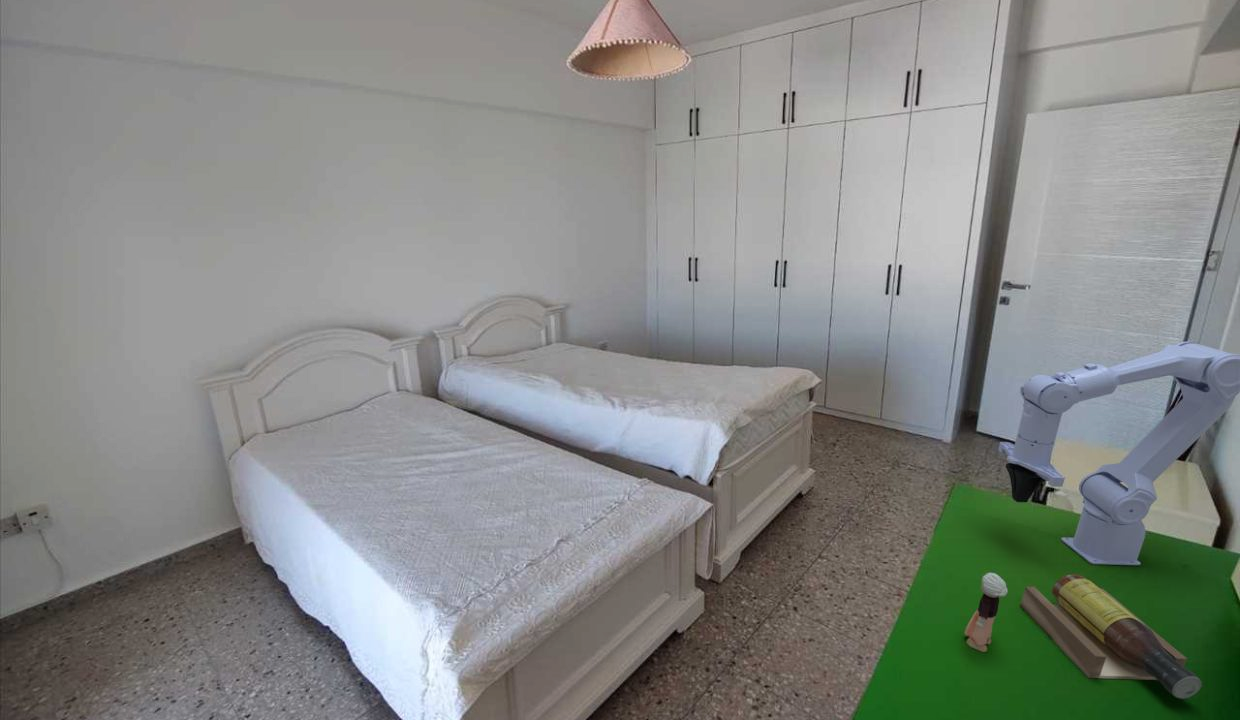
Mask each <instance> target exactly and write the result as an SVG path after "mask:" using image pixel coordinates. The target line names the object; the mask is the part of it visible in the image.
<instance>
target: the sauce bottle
mask: <svg viewBox="0 0 1240 720" xmlns="http://www.w3.org/2000/svg"><path fill="white" fill-rule="evenodd" d="M1101 589H1102V588H1100V587H1098V586H1097V585H1096V584H1095V583H1094V582H1092V581H1091V580H1089V579H1087V578H1085V577H1084V576H1082V575H1080V574H1076V573H1075V574H1073V573H1072V574H1067V575H1063V576H1062V577H1060V578H1058V579H1057V581H1056V582H1055V584H1054V585H1053V586H1052V591H1051V593H1052V596H1053V598H1054V599H1055V601H1056V602H1058V603H1059V604H1060V605H1061V606H1062V607H1063V608H1065V609H1066V610H1067V611H1068V612H1069V613H1070V614H1071V615H1072V616H1073V617H1075V618H1076V619H1077V620H1078V621H1079V622H1080V623H1081V624H1082V625H1084V626H1085V627H1086V628H1087V629H1088V630H1089V631H1090V632H1091V633H1093V634H1094V635H1095V636H1096V637H1097V638H1098V639H1099V640H1100V641H1101V642H1102V643H1104V644H1105V645H1106V646H1107V647H1108V648H1110V649H1111V650H1112V651H1114V652H1115V653H1116V654H1117V655H1118V656H1119V657H1120V658H1121V659H1123V660H1125V661H1127V662H1129V663H1131V664H1132V665H1135V666H1138V667H1141V668H1143V669H1145V670H1146V671H1147V672H1148V673H1150V674H1151V675H1153V676H1154V677H1155V678H1156V679H1157V680H1156V681H1158V682H1159V683H1160V684H1162V685H1163V687H1164V689H1165V690H1166V691H1167V692H1168V693H1169V694H1171V695H1172V696H1173V697H1175V698H1178V699H1188V698H1191V697H1192V696H1195V694H1197V693H1198V692H1199V691H1200V690H1201V688H1202V681H1201V679H1200V677H1198V676H1197V675H1196V674H1195V673H1194V672H1192V671H1191V670H1189V669H1187V668H1186V667H1185V666H1184V667H1183V666H1182V665H1180V664H1179V663H1178V662H1177V661H1175V660H1174V659H1173V658H1172V656H1170V655H1169V654H1168V653H1167V652H1166V651H1165V649H1164V648H1163V646H1162V645H1161V644H1160V642H1159V641H1158V640H1157V638H1156V637H1155V636H1154V634H1153V632H1152V631H1151V630H1150V628H1151V627H1150V628H1148V627H1149V626H1148V625H1147V624H1146V623H1145V622H1143V621H1142V620H1141V619H1140V618H1139V619H1140V620H1141V621H1142V622H1143V623H1142V622H1141V621H1140V620H1139V619H1137V618H1138V617H1137V616H1136V615H1135V614H1134V615H1135V616H1136V617H1137V618H1136V617H1135V616H1134V615H1132V614H1131V613H1132V612H1131V611H1130V612H1131V613H1130V612H1128V611H1127V610H1126V609H1125V608H1126V607H1125V608H1123V607H1122V606H1121V605H1120V604H1118V603H1117V602H1116V601H1115V600H1114V599H1112V598H1111V597H1110V596H1109V595H1107V594H1106V593H1105V592H1104V591H1102V590H1101ZM1144 623H1145V624H1146V625H1147V626H1148V627H1147V626H1146V625H1145V624H1144Z"/></svg>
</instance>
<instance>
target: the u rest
mask: <svg viewBox="0 0 1240 720" xmlns="http://www.w3.org/2000/svg"><path fill="white" fill-rule="evenodd" d="M1100 589H1101V590H1102V591H1104V592H1105V593H1106V594H1107V595H1109V596H1110V597H1111V598H1112V599H1114V600H1115V601H1116V602H1117V603H1118V604H1120V605H1121V606H1122V607H1123V608H1125V609H1126V610H1127V611H1128V612H1130V613H1131V614H1132V615H1134V616H1135V617H1136V618H1137V619H1139V620H1140V621H1141V622H1142V623H1144V624H1145V625H1146V626H1147V627H1148V628H1150V630H1151V631H1152V632H1153V634H1154V636H1155V637H1156V638H1157V640H1158V641H1159V642H1160V644H1161V645H1162V646H1163V648H1164V649H1165V651H1166V652H1167V653H1168V654H1169V655H1170V656H1172V658H1173V659H1174V660H1175V661H1177V662H1178V663H1179V664H1180V665H1182V666H1183V667H1184V668H1185V666H1186V663H1187V660H1188V658H1187V657H1186V656H1185V655H1183V654H1182V653H1181V652H1180V651H1179V650H1177V649H1176V648H1175V647H1173V646H1172V645H1171V644H1170V643H1169V642H1167V640H1165V639H1164V637H1161V636H1160V635H1159V634H1158V632H1155V631H1154V630H1153V629H1152V628H1151V627H1150V626H1148V625H1147V624H1146V623H1145V622H1144V621H1142V619H1140V618H1138V616H1136V615H1135V614H1134V613H1133V612H1132V611H1130V610H1129V609H1128V608H1127V607H1126V606H1125V605H1123V604H1122V603H1121V602H1120V601H1118V600H1117V599H1116V598H1115V597H1113V596H1112V595H1111V594H1110V593H1108V592H1107V591H1106V590H1105V589H1104V588H1100ZM1019 607H1021V608H1022V610H1023V612H1025V613H1026V614H1027V615H1028V616H1029V617H1030V618H1031V619H1032V620H1033V621H1034V622H1035V623H1036V624H1037V625H1038V626H1039V628H1040V629H1042V630H1043V632H1044V633H1045V634H1046V635H1047V636H1048V638H1050V639H1051V640H1052V641H1053V642H1054V643H1055V644H1056V645H1057V647H1059V649H1061V650H1062V652H1063V653H1064V654H1065V655H1066V656H1067V657H1068V658H1069V659H1070V660H1071V661H1072V662H1073V663H1074V664H1075V665H1076V666H1077V668H1079V669H1080V670H1081V672H1083V674H1084V675H1085V676H1086V677H1087V678H1089V679H1117V680H1118V679H1119V680H1150V681H1153V680H1155V681H1158V680H1157V679H1156V678H1155V677H1154V676H1153V675H1151V674H1150V673H1148V672H1147V671H1146V670H1145V669H1143V668H1141V667H1138V666H1135V665H1132V664H1131V663H1129V662H1127V661H1125V660H1123V659H1121V658H1120V657H1119V656H1118V655H1117V654H1116V653H1115V652H1114V651H1112V650H1111V649H1110V648H1108V647H1107V646H1106V645H1105V644H1104V643H1102V642H1101V641H1100V640H1099V639H1098V638H1097V637H1096V636H1095V635H1094V634H1093V633H1091V632H1090V631H1089V630H1088V629H1087V628H1086V627H1085V626H1084V625H1082V624H1081V623H1080V622H1079V621H1078V620H1077V619H1076V618H1075V617H1073V616H1072V615H1071V614H1070V613H1069V612H1068V611H1067V610H1066V609H1065V608H1063V607H1062V606H1061V605H1060V603H1059V604H1058V603H1057V604H1053V603H1052V602H1050V600H1049V599H1048V598H1047V597H1046V596H1044V594H1042V593H1041V591H1039V590H1038V589H1037V588H1036V587H1035V586H1025V588H1024V591H1023V594H1022V598H1021V601H1020V605H1019Z"/></svg>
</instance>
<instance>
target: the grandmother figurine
mask: <svg viewBox="0 0 1240 720" xmlns="http://www.w3.org/2000/svg"><path fill="white" fill-rule="evenodd" d="M980 586H981V587H980V588H981V591H982V593H983V594H982V596H981V597H980V600H979V605H978V608H977V610H976V611H975V612H974V614H973V615H972V617H971V618H970V620H969V622H968V624H967V626H966V628H965V630H964V635H965V636H967V637H968V638H967V639H966V644H967V645H968V646H969V647H970V648H973V649H974V650H977V651H979V652H981V653H986V652H988V647H987V645H990V644H992V639H991V637H992V633H993V632H992V631H993V624H994V621H995V619H996V616H997V614H998V611H999V608H1000V605H999V604H1000V597H1005V596H1006V595H1008V592H1009V591H1008V587H1007V583H1006V582H1005V580H1004V579H1003V578H1001V576H999V575H998V574H997V573H994V572H987V573H986V574H984V575H983V576H982V579H981V585H980Z"/></svg>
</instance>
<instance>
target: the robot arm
mask: <svg viewBox="0 0 1240 720" xmlns="http://www.w3.org/2000/svg"><path fill="white" fill-rule="evenodd" d="M1167 376H1169V377H1170V376H1172V378H1173V379H1174V380H1175V382H1176V383H1177V384H1178V387H1179V388H1180V391H1181V395H1182V399H1181V400H1179V402H1178V403H1177V404H1176V405H1175V406H1174V407H1173V408H1172V409H1171V410H1170V411H1169V412H1168V413H1167V414H1166V415H1165V416H1164V417H1163V418H1162V419H1161V420H1160V421H1159V422H1158V423H1157V424H1156V425H1155V426H1154V427H1153V428H1152V429H1151V430H1150V431H1149V432H1148V433H1147V434H1146V435H1145V436H1144V437H1143V438H1142V440H1140V442H1138V443H1137V445H1136V446H1135V447H1134V448H1132V450H1130V452H1129V453H1128V454H1127V455H1126V456H1125V457H1124V458H1122V459H1121V461H1119V462H1117V463H1108V464H1103V465H1101V466H1100V467H1099V468H1098V469H1096V471H1093V472H1092V473H1089V474H1087V475H1085V476H1084V477H1083V478H1082V479H1081V481H1080V482H1079V485H1078V490H1079V493H1080V494H1081V496H1082V497H1083V499H1082V503H1083V506H1082V510H1081V514H1080V518H1079V521H1078V524H1077V527H1076V530H1075V534H1074V536H1073V537H1061V538H1060V539H1061V541H1062V542H1064V543H1065V544H1066V545H1067V546H1068V547H1069V548H1071V549H1072V550H1073V551H1074V552H1075V553H1077V554H1078V555H1079V556H1081V557H1082V558H1083V559H1084V560H1085V561H1087V562H1089V563H1090V564H1091V565H1112V566H1113V565H1116V566H1118V565H1119V566H1140V565H1141V562H1140V561H1139V560H1138V558H1139V556H1140V552H1141V549H1142V547H1143V544H1144V540H1145V538H1146V534H1147V533H1146V526H1145V525H1144V523H1143V521H1142V520H1144V519H1145V518H1146V517H1147V515H1148V514H1149V511H1150V508H1151V506H1152V505H1153V504H1154V503H1155V501H1156V500H1158V497H1157V492H1156V489H1155V487H1154V482H1155V481H1157V479H1158V478H1159V477H1160V476H1161V475H1162V474H1163V473H1164V472H1165V471H1166V470H1167V469H1168V468H1169V467H1170V466H1172V465H1173V464H1174V462H1175V461H1177V460H1178V458H1180V457H1181V455H1184V453H1185V452H1186V451H1187V450H1188V449H1189V448H1190V447H1191V446H1192V445H1193V444H1194V443H1195V442H1196V441H1197V440H1198V439H1199V438H1200V437H1201V436H1203V434H1204V433H1205V432H1207V430H1208V429H1209V428H1211V426H1213V424H1214V423H1216V422H1217V421H1218V420H1219V419H1220V417H1222V416H1223V415H1224V414H1225V413H1226V412H1227V411H1228V410H1229V409H1230V408H1231V406H1232V404H1233V402H1234V400H1235V398H1236V397H1237V396H1238V395H1239V394H1240V354H1239V353H1238V354H1237V353H1230V352H1227V351H1224V350H1220V349H1217V348H1214V347H1210V346H1207V345H1203V344H1201V343H1199V342H1195V341H1191V340H1190V341H1183V342H1179V343H1177V344H1169V345H1166V346H1165V347H1164V348H1163V349H1162V350H1161V351H1158V352H1155V353H1151V354H1149V355H1148V354H1147V355H1145V356H1141V357H1138V358H1135V359H1132V360H1129V361H1126V362H1122V363H1120V364H1116V365H1113V366H1110V367H1107V366H1105V365H1103V364H1101V363H1100V364H1099V363H1096V364H1094V363H1092V362H1089V363H1085V364H1083V367H1080V368H1077V369H1073V370H1070V371H1065V372H1062V371H1059V372H1055V373H1054V374H1053V375H1052V376H1049V375H1046V374H1037V375H1035V376H1032V377H1030V378H1029V379H1027V380H1026V381H1025V383H1024V385H1023V386H1022V385H1021V386H1020V389H1019V393H1020V396H1021V397H1022V398H1023V404H1022V405H1023V406H1022V408H1023V409H1022V413H1021V419H1020V421H1019V426H1018V430H1017V435H1016V439H1015V442H1014V444H1013V443H1011V442H1007V441H1006V442H1005V441H1003V442H1002V441H1001V442H999V446H998V450H997V451H998V452H1000V453H1002V454H1006V455H1007V457H1006V461H1008V463H1006V464H1005V468H1006V470H1007V473H1008V476H1009V479H1010V483H1011V484H1010V487H1011V498H1012V500H1013V501H1015V502H1016V503H1028V501H1029V500H1030V499H1031V497H1032V495H1033V494H1034V493H1035V491H1036V490H1037V489H1038V488H1039V487H1040V486H1041V485H1042V484H1044V483H1045V482H1048V483H1047V484H1048V485H1049V486H1050V487H1054V488H1055V487H1056V488H1058V487H1059V488H1060V487H1063V486H1064V484H1065V483H1064V482H1065V479H1066V477H1065V476H1063V474H1061V473H1060V472H1059V471H1058V470H1057V469H1056V467H1055V466H1054V465H1053V464H1052V463H1051V462H1050V461H1051V458H1052V457H1051V456H1052V452H1053V450H1054V445H1055V442H1056V438H1057V434H1058V431H1059V426H1060V423H1061V421H1062V416H1063V414H1064V413H1066V412H1067V411H1069V410H1070V409H1071V408H1072V407H1073V406H1074V405H1076V404H1079V402H1082V401H1083V402H1084V401H1088V400H1091V399H1092V400H1093V399H1095V398H1096V399H1097V398H1099V397H1104V396H1107V395H1111V394H1113V393H1114V392H1115V391H1116V389H1117V388H1118V386H1122V385H1127V384H1131V383H1137V382H1141V381H1142V382H1143V381H1147V380H1153V379H1158V378H1162V377H1167ZM1122 483H1123V484H1122ZM1125 485H1126V486H1125Z"/></svg>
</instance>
